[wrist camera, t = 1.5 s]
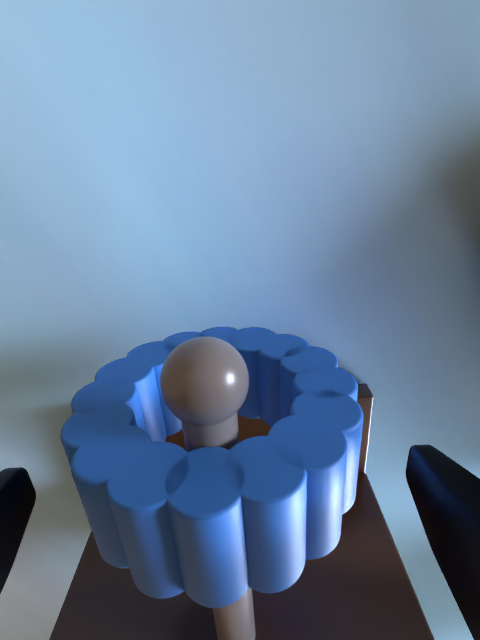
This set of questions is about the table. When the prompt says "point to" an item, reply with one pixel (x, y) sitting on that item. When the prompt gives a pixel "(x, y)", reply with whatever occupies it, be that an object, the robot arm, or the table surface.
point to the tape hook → (253, 607)
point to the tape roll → (217, 471)
